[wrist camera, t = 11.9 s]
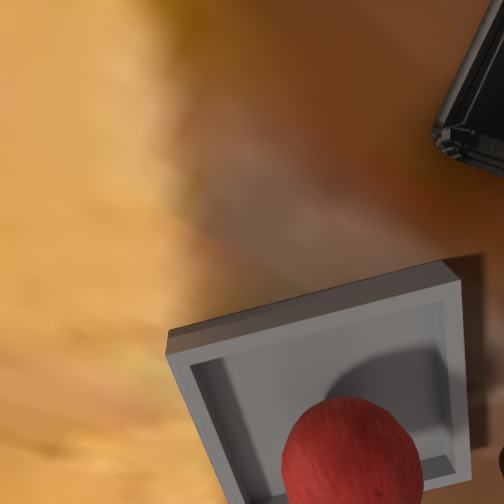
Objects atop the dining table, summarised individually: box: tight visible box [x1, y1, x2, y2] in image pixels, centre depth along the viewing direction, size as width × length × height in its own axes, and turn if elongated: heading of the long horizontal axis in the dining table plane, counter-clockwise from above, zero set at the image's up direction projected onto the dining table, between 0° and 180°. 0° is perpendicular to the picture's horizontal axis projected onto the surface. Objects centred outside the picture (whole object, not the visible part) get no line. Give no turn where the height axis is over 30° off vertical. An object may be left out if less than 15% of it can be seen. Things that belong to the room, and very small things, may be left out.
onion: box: [281, 397, 424, 504], centre depth 19 cm, size 6×6×8 cm
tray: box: [165, 260, 472, 504], centre depth 22 cm, size 13×13×2 cm
